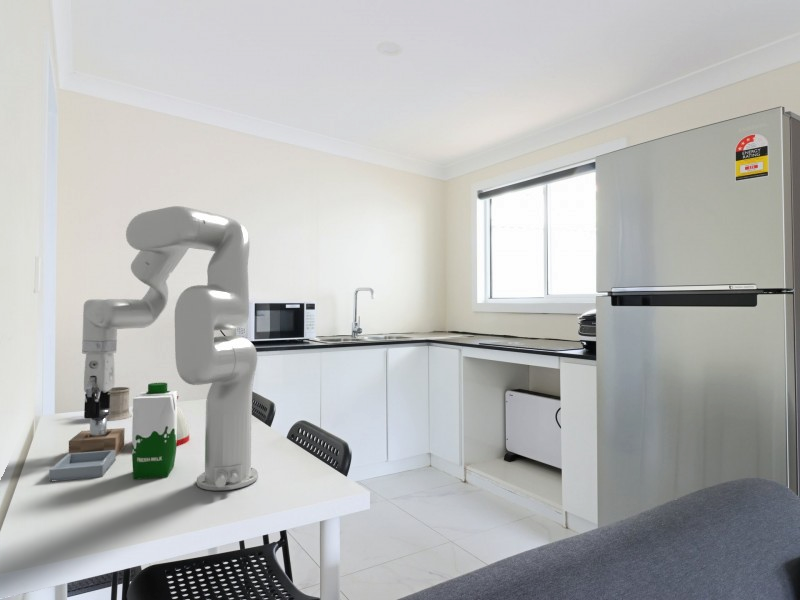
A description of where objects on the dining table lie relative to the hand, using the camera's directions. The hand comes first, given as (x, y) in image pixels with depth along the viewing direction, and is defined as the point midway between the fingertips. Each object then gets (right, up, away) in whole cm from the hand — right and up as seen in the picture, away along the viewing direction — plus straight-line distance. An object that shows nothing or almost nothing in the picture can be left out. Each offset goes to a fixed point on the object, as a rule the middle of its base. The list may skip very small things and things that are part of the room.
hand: (97, 413), depth 122 cm
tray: (+5, -10, -12) cm, 17 cm away
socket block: (0, -10, 0) cm, 10 cm away
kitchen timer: (+11, -11, +11) cm, 19 cm away
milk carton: (+22, -11, -14) cm, 28 cm away
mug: (-21, -11, +41) cm, 47 cm away
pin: (0, -10, 0) cm, 10 cm away
